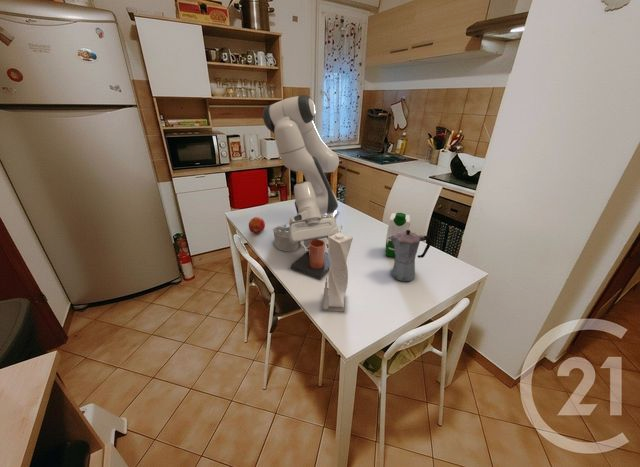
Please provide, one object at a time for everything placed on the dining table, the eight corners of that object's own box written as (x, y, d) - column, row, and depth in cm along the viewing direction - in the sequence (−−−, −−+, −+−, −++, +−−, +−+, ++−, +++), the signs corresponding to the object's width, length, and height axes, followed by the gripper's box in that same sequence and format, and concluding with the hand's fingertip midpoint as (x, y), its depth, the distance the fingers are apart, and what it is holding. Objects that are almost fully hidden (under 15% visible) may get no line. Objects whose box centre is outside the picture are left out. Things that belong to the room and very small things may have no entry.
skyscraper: (325, 293, 94) (326, 223, 81) (347, 295, 94) (352, 224, 81) (322, 310, 87) (324, 236, 74) (347, 312, 86) (353, 237, 73)
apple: (267, 229, 139) (265, 215, 136) (262, 236, 132) (261, 222, 128) (252, 228, 140) (250, 214, 136) (247, 235, 133) (245, 221, 129)
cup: (314, 258, 111) (314, 238, 106) (327, 262, 108) (327, 241, 104) (306, 265, 106) (306, 244, 102) (319, 270, 104) (319, 248, 99)
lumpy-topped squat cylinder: (291, 236, 132) (290, 220, 128) (303, 247, 122) (303, 231, 118) (272, 241, 127) (270, 225, 123) (283, 254, 118) (281, 237, 114)
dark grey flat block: (311, 251, 120) (311, 244, 118) (339, 260, 114) (339, 253, 112) (290, 268, 108) (290, 261, 106) (320, 279, 101) (320, 272, 100)
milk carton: (383, 256, 116) (389, 215, 107) (385, 246, 124) (391, 207, 115) (403, 260, 114) (411, 218, 104) (405, 250, 121) (412, 210, 112)
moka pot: (382, 267, 109) (388, 224, 100) (419, 268, 109) (429, 225, 99) (386, 281, 101) (393, 236, 91) (427, 282, 100) (438, 237, 91)
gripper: (331, 217, 113) (339, 247, 110) (285, 223, 107) (292, 256, 104) (336, 211, 108) (344, 243, 104) (287, 218, 102) (294, 252, 98)
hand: (318, 249), depth 104 cm, fingers open, 8 cm apart
